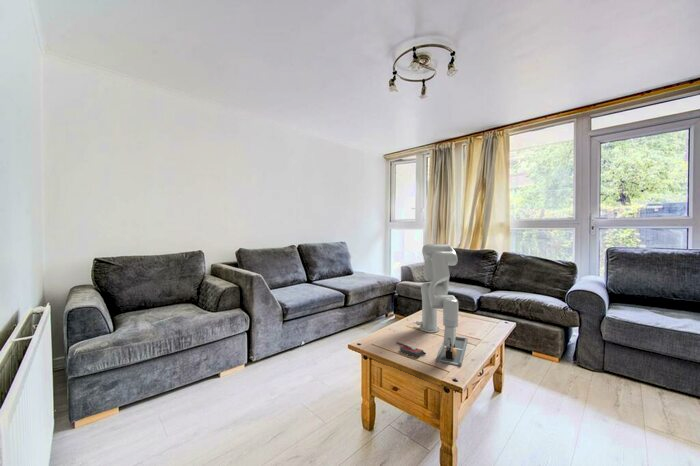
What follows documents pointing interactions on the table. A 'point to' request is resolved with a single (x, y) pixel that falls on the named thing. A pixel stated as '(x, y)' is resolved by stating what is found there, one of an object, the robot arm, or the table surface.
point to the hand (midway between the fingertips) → (450, 355)
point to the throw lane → (460, 349)
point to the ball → (452, 350)
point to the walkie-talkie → (411, 350)
